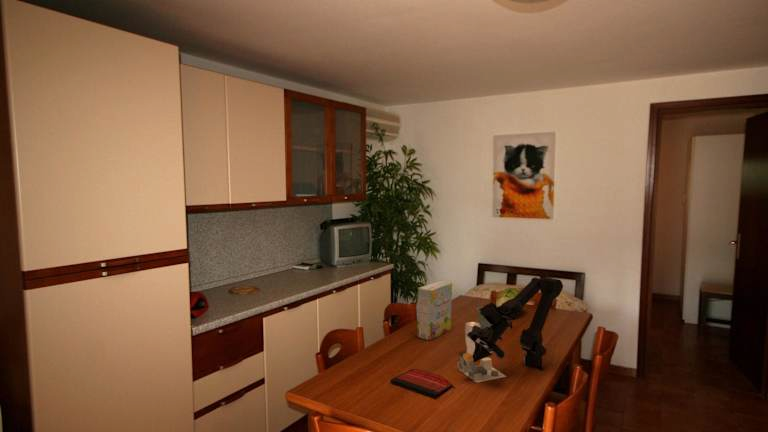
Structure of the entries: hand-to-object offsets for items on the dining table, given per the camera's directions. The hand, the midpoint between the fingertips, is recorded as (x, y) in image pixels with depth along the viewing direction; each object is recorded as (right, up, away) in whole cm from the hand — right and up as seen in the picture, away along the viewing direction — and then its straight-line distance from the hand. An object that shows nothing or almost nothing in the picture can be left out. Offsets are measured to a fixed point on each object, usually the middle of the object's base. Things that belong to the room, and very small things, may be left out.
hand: (472, 361), depth 171 cm
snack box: (-8, -4, +55) cm, 56 cm away
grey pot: (+20, -4, +58) cm, 61 cm away
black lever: (-2, -5, +8) cm, 10 cm away
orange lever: (+1, -5, +1) cm, 5 cm away
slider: (+8, -6, +9) cm, 13 cm away
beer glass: (+5, -6, +24) cm, 26 cm away
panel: (+5, -7, +6) cm, 11 cm away
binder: (-19, -9, -1) cm, 21 cm away
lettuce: (+39, -2, +85) cm, 93 cm away
